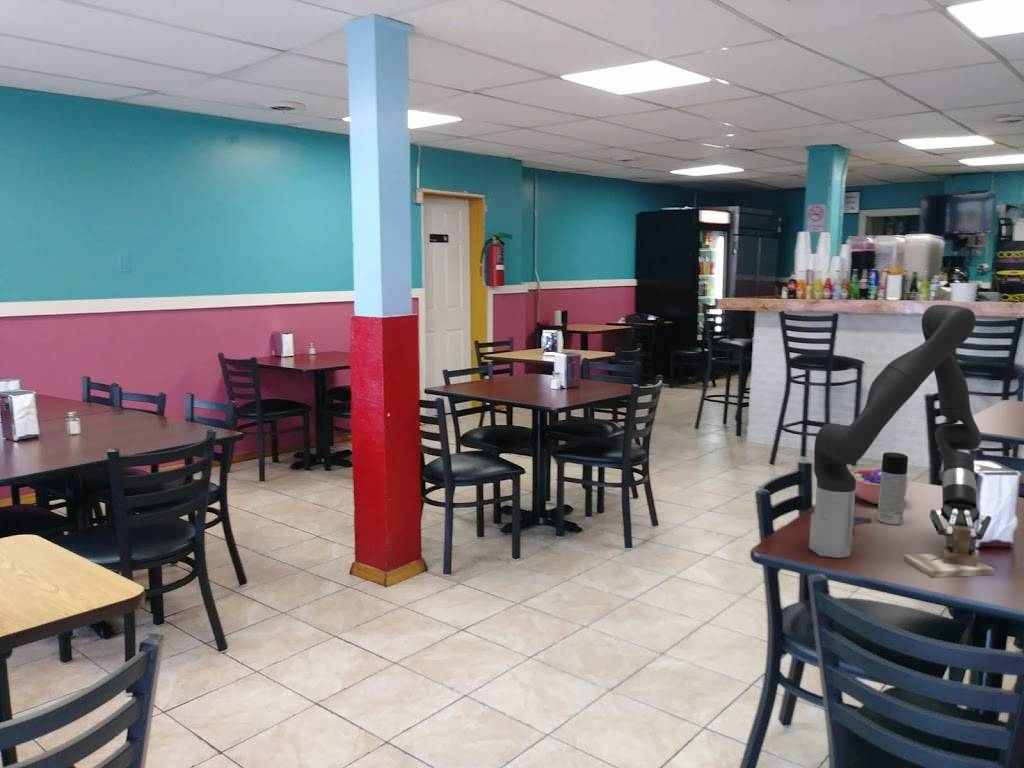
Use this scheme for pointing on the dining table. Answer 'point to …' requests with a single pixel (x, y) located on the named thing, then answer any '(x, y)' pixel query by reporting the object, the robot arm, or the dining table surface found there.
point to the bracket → (860, 521)
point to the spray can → (892, 488)
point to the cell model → (870, 484)
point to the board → (945, 566)
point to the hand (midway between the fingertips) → (960, 551)
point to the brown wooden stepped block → (960, 548)
